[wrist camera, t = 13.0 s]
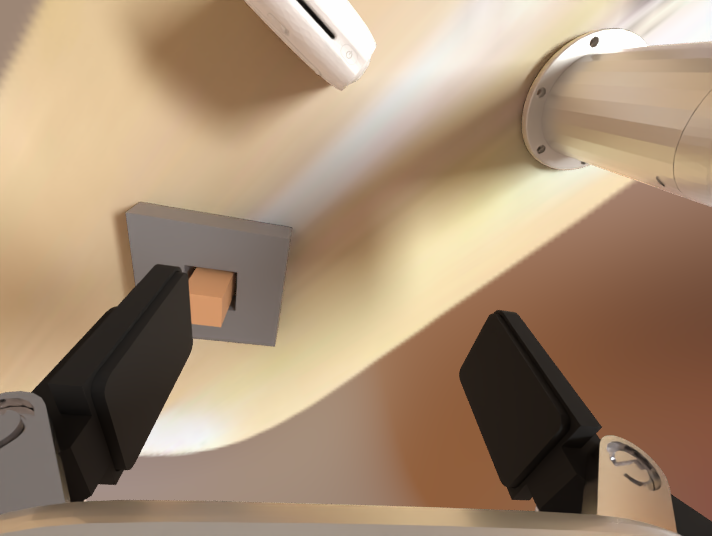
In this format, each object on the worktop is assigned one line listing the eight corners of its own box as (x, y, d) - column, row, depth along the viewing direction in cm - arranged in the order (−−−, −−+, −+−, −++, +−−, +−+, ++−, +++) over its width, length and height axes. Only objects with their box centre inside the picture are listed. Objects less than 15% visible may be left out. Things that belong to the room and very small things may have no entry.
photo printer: (368, 52, 29) (394, 43, 19) (337, 92, 31) (345, 104, 20) (273, -56, 25) (237, -146, 15) (242, -4, 27) (189, -51, 16)
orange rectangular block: (237, 263, 39) (222, 298, 33) (235, 290, 41) (220, 327, 35) (202, 258, 38) (180, 292, 33) (202, 285, 40) (181, 322, 34)
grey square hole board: (292, 227, 37) (289, 239, 35) (277, 330, 45) (274, 346, 43) (140, 201, 34) (125, 212, 32) (152, 317, 42) (141, 333, 40)
